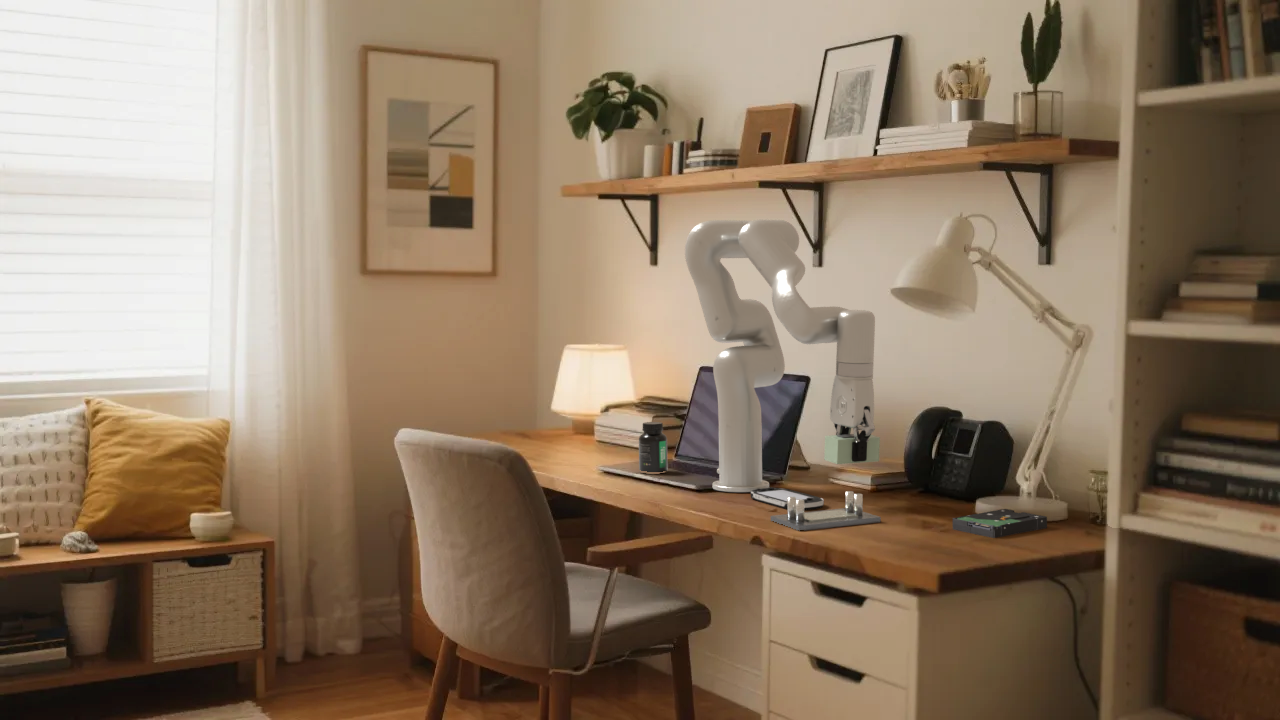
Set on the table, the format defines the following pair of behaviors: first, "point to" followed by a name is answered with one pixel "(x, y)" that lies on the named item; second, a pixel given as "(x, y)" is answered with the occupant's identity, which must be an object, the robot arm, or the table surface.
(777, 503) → the gaming console
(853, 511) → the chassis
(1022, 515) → the disk drive
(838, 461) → the block
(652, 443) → the supplement bottle
